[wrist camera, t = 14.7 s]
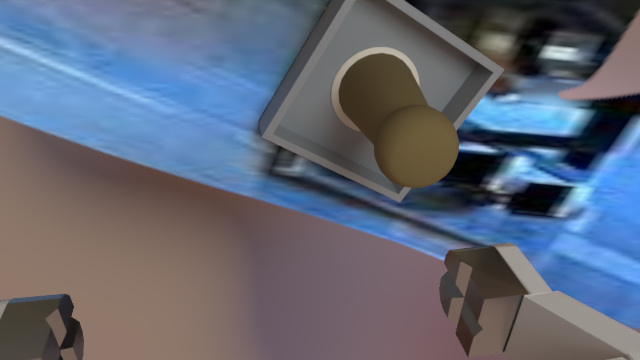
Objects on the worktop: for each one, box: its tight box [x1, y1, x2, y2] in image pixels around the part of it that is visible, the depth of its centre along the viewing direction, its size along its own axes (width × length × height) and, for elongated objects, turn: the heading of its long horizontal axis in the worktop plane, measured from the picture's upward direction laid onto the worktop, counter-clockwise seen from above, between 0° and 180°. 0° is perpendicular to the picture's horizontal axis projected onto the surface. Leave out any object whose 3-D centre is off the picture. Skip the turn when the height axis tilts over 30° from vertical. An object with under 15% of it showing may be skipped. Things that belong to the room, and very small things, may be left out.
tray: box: [259, 0, 504, 202], centre depth 38 cm, size 13×13×3 cm
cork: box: [339, 53, 459, 188], centre depth 34 cm, size 6×6×11 cm
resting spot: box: [331, 47, 419, 132], centre depth 39 cm, size 7×7×1 cm
